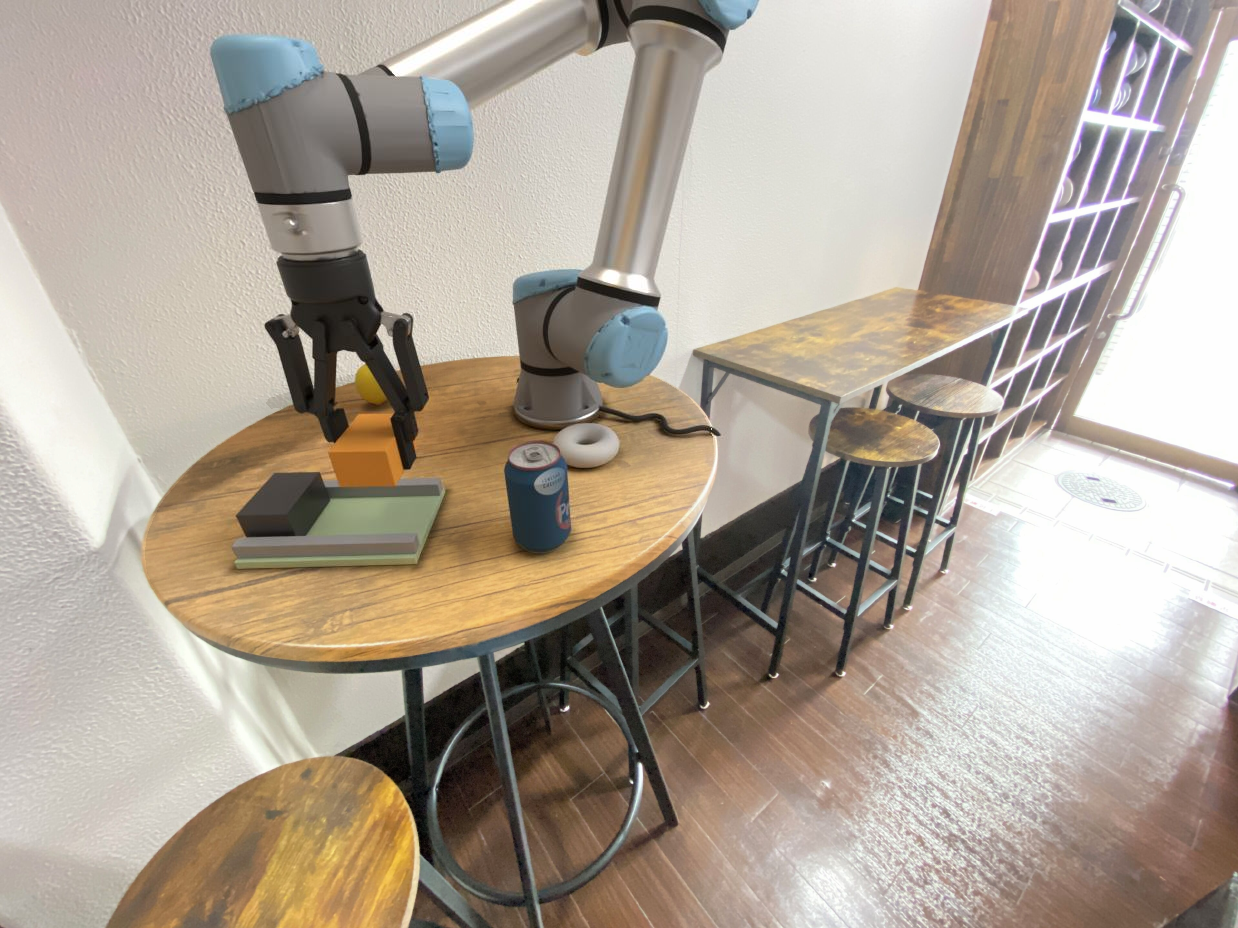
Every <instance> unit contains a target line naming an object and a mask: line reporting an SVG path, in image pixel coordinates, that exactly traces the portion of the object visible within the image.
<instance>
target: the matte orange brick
mask: <svg viewBox="0 0 1238 928" xmlns="http://www.w3.org/2000/svg"><path fill="white" fill-rule="evenodd" d="M393 414H394V413H358V414H357V415H356V416H355V418H354V419H353V420H352V421H351V423H350V424H349V427H348V428H347V429H346V430H345V432H344V433H343V434H342V435H341V436H340V438H339V439H338V440H337V441H336V443H335V444H334V443H333V445H332V446H331V447H330V449H329V450H328V451H327V454H328V456H329V460H330V463H331V465H332V469H333V471H334V475H335V477H336V480H338V483H339V486H340V487H378V486H396V484H397V483H398V481H399V479H401V477H402V475H403V473H404V472H405V470H403V466H402V462H401V458H400V454H399V450H398V446H397V443H396V439H395V436H394V432H393V428H392V424H391V421H390V418H391V417H392V415H393ZM413 443H414V448H415V451H416V450H417V448H418V446H419V445H418V441H417V437H416V438H415V440H414V441H413Z"/></svg>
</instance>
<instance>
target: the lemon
mask: <svg viewBox="0 0 1238 928" xmlns="http://www.w3.org/2000/svg"><path fill="white" fill-rule="evenodd" d="M354 379H355V387H356V390H357V392H358V394H359V396H360V397H361V398H362V400H364V401H365V402H367V403H370V404H374V405H376V406H381V405H382V404H383V403H385V401H388V399H387V398H386V396H385V394H384V393H383V391H382V390H381V388H380V386H379V385H378V383H377V381H376V380H375V378H374V376H373V375H372V373H371V372H370V370H369V368H368V367H367V365H366V363H365V362H364V364H363V365H361V366H360V367H359V368H358V369H357V371H356V373H355V376H354Z"/></svg>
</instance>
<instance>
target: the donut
mask: <svg viewBox="0 0 1238 928" xmlns="http://www.w3.org/2000/svg"><path fill="white" fill-rule="evenodd" d="M552 443H553V444H555V445H556V446H558V447H559V449H560V451H561V455H562V456H563V458H564V459H565V461H566V463H567V466H569V467H574V468H580V469H591V468H597V467H601V466H603V465H606V464H607V463H609V462H610V461H612V460H613V459H614V458H615V457H616V455H617V454H618V452H619V450H620V449H619V448H620V444H621V443H620V440H619V438H618V435H617V434H616V432H615V431H614V430H613V429H611V428H610V427H608V426H606V425H604V424H600V423H594V422H589V423H581V424H575V425H571V426H568V427H566V428H564V429H560V431H559V432H558V433H556V434H555V436H554V439H553V442H552Z"/></svg>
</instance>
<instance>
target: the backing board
mask: <svg viewBox="0 0 1238 928" xmlns="http://www.w3.org/2000/svg"><path fill="white" fill-rule="evenodd" d="M445 494H446V488H445V485H443V483H442V478H441V477H417V478H416V477H414V478H410V477H409V478H400V479H399V481H398V483H397V484H396V486H378V487H340V486H339V483H338V480H337V479H325V480H323V477H322V474H321V472H320V471H297V472H295V471H293V472H292V471H291V472H274V473H273V474H271V476H270V477H269V478H268V479H267V480H266V481H265V483H263V485H262V486H260V488H259V489H258V490H257V491H256V492H255V494H254V495H253V496H252V497H250V499H249V500H248V501H247V502H246V503H245V505H244V506H242V508H241V509H240V510H239V511H238V513H236V514H235V517H236V519H237V521H238V524H239V525H240V527H241V529H242V531H243V533H244V535H245V536H243V537H242V536H241V537H238V538H237V539H236V540H235V541H234V542H233V543H232V545H231V546H230V548H231V550H232V551H233V553H234V555H235V557H236V559H235V561H234V562H233V563H234V565H235V567H236V569H237V570H243V569H248V570H249V569H278V568H279V569H283V568H285V569H288V568H317V567H318V568H319V567H323V568H324V567H356V566H357V567H358V566H359V567H360V566H395V565H396V566H397V565H398V566H399V565H417V564H418V562H419V559H420V556H421V553H422V552H423V549H424V546H425V544H426V541H427V539H428V536H429V534H430V532H431V530H432V526H433V525H434V522H435V520H436V517H437V514H438V512H439V510H440V507H441V504H442V502H443V500H444V496H445Z"/></svg>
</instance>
